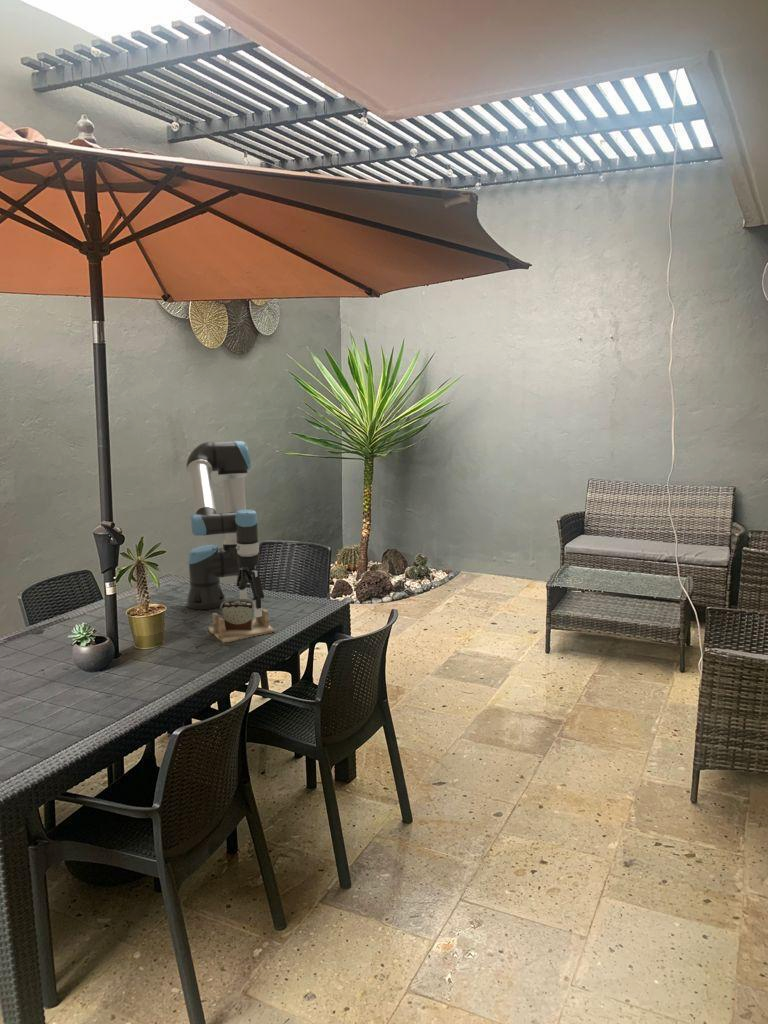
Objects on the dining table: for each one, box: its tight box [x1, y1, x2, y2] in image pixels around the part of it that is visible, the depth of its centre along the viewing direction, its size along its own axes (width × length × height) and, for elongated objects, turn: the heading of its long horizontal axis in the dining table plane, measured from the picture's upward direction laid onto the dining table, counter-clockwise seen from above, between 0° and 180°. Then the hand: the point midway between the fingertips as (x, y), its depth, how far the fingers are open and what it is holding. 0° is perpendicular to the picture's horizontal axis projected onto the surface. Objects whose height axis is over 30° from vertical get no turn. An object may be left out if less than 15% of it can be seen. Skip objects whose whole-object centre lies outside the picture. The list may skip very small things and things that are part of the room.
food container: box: [219, 598, 254, 631], centre depth 261 cm, size 12×6×10 cm, turn 86°
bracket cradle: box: [207, 607, 276, 644], centre depth 260 cm, size 16×19×7 cm
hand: (250, 611), depth 262 cm, fingers open, 13 cm apart
